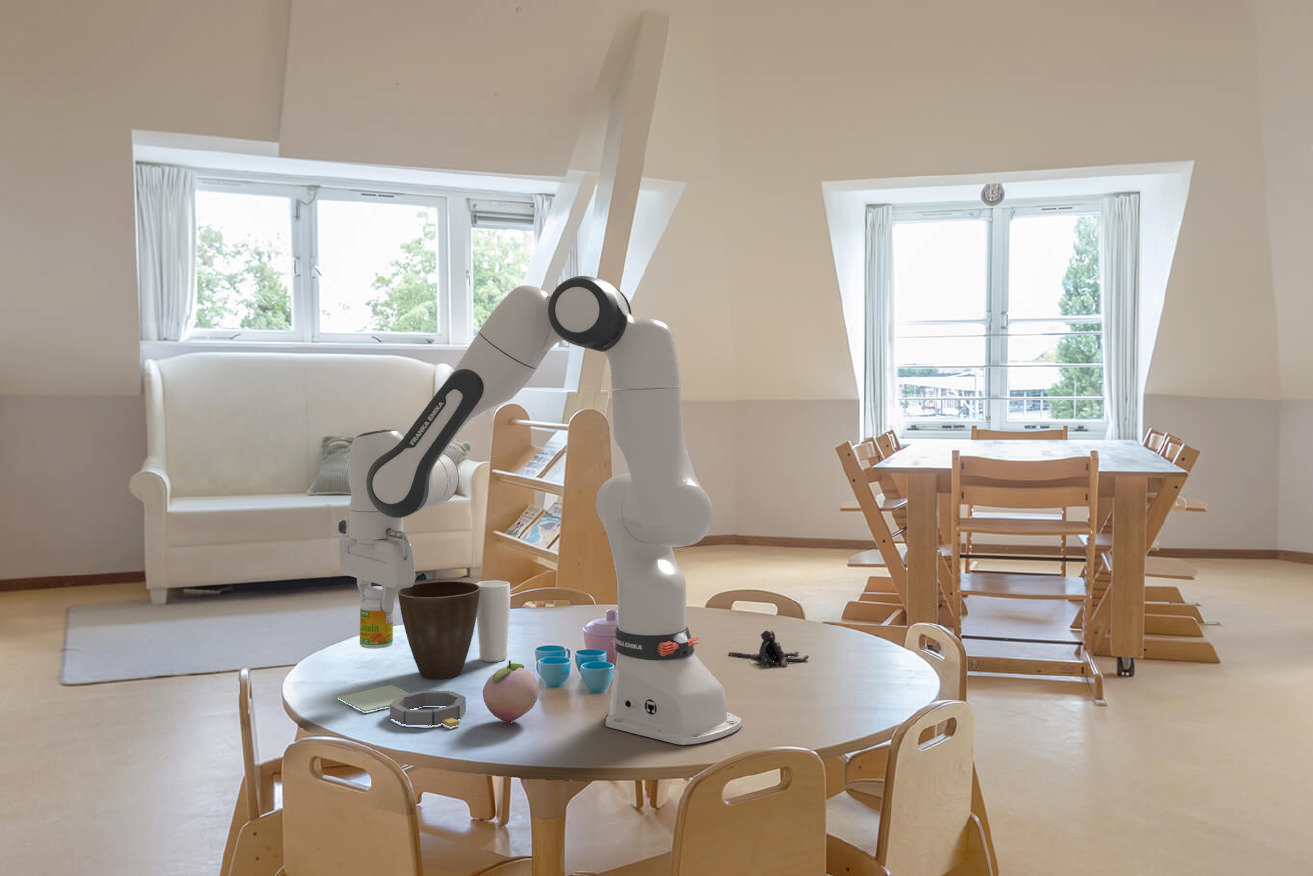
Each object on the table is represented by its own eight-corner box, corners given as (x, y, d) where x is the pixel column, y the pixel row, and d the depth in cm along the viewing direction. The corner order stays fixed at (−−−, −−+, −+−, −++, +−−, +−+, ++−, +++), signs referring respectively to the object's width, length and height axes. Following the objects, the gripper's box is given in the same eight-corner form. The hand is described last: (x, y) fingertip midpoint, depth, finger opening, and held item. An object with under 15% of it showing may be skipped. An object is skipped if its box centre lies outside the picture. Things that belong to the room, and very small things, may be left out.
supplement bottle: (353, 647, 165) (354, 589, 165) (370, 640, 170) (370, 584, 170) (382, 650, 164) (383, 591, 164) (398, 643, 169) (399, 586, 169)
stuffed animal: (814, 661, 189) (763, 628, 187) (785, 704, 189) (734, 671, 187) (799, 645, 200) (751, 613, 199) (771, 685, 200) (723, 654, 199)
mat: (419, 701, 167) (419, 697, 167) (364, 714, 161) (364, 710, 161) (391, 688, 175) (391, 685, 175) (337, 700, 168) (337, 696, 168)
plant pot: (440, 690, 173) (439, 600, 173) (381, 677, 181) (380, 591, 181) (497, 670, 186) (497, 586, 185) (439, 659, 194) (439, 578, 193)
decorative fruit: (528, 734, 151) (528, 670, 150) (477, 731, 152) (476, 667, 152) (545, 715, 160) (545, 654, 160) (497, 712, 161) (496, 651, 161)
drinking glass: (514, 655, 197) (513, 580, 196) (506, 664, 190) (505, 587, 190) (481, 654, 198) (480, 579, 197) (471, 663, 191) (470, 586, 190)
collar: (485, 720, 158) (484, 704, 157) (422, 736, 150) (422, 720, 150) (433, 698, 169) (433, 683, 169) (373, 712, 161) (373, 697, 161)
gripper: (424, 530, 161) (425, 615, 161) (365, 519, 176) (366, 596, 176) (389, 534, 157) (389, 620, 157) (332, 522, 172) (332, 601, 172)
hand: (377, 607), depth 167 cm, fingers closed on supplement bottle, 5 cm apart
